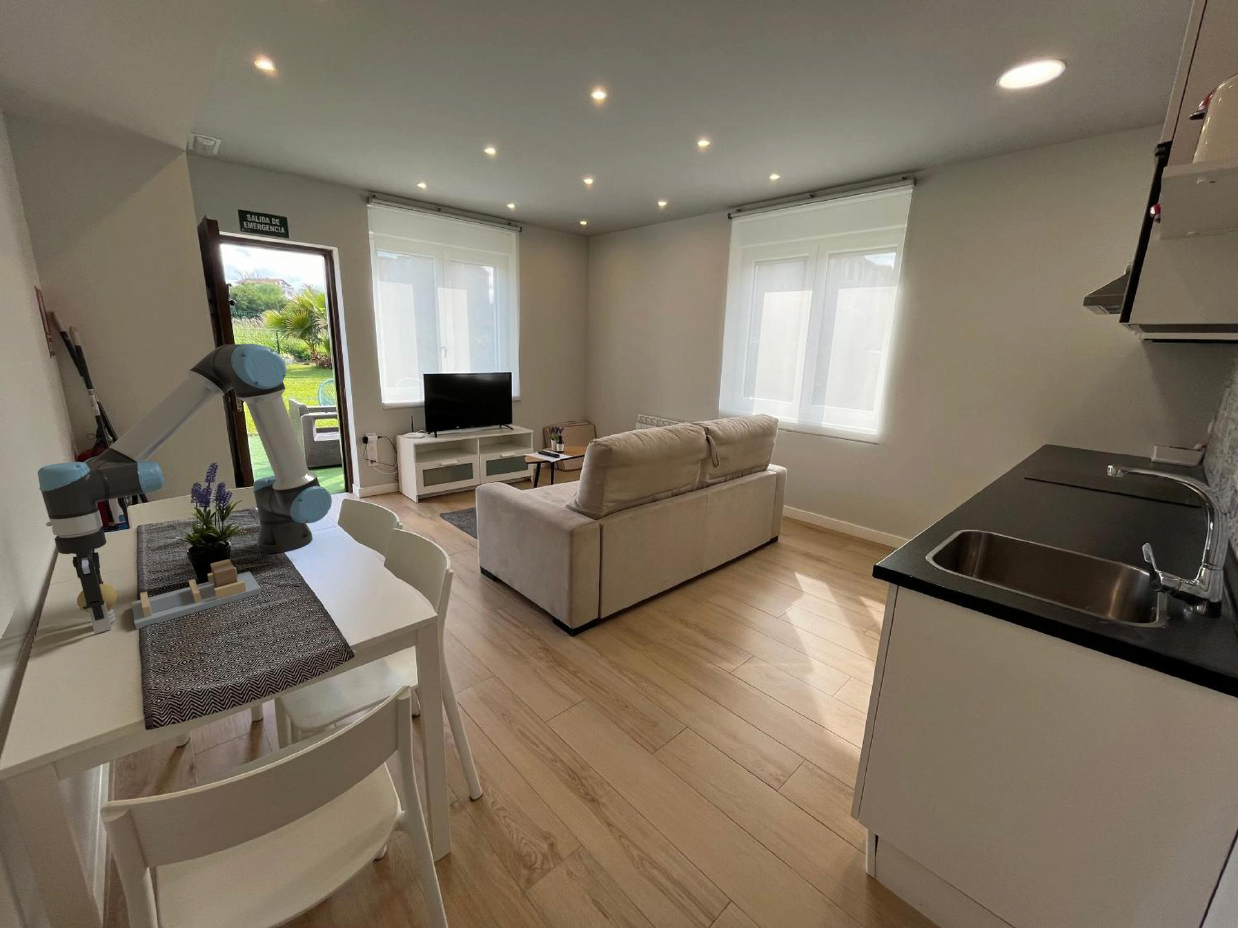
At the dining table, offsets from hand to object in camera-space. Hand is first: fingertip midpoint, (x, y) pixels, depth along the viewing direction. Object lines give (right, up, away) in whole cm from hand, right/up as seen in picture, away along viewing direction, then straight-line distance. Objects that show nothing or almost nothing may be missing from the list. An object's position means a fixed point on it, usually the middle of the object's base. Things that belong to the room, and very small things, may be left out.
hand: (103, 623), depth 115 cm
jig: (+13, +2, +11) cm, 17 cm away
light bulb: (0, 0, 0) cm, 1 cm away
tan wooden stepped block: (+17, +5, +15) cm, 23 cm away
